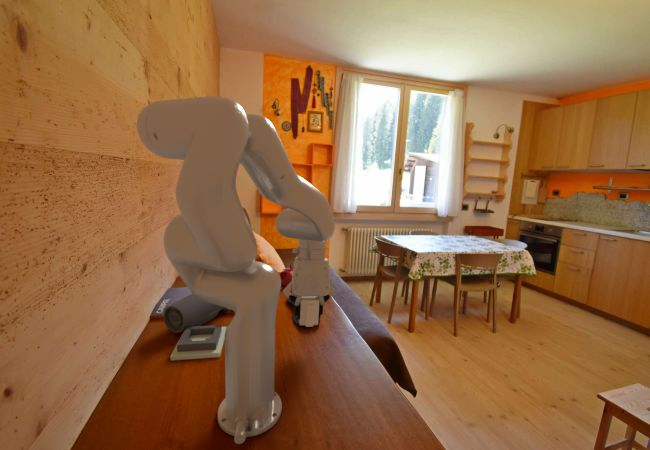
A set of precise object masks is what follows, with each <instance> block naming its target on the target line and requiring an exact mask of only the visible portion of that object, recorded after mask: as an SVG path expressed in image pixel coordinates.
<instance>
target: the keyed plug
mask: <svg viewBox="0 0 650 450" xmlns="http://www.w3.org/2000/svg"><path fill="white" fill-rule="evenodd" d="M300 306H301V309H300V320H299V323H300V325H299V326H305V327H306V328H309V327H314V326H318V325H319V323H318V318H319V298H318V296H312V297H301V300H300Z"/></svg>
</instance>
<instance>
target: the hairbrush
mask: <svg viewBox="0 0 650 450" xmlns="http://www.w3.org/2000/svg"><path fill="white" fill-rule="evenodd" d="M286 303H288V304H290V305H292V306H293V307H294V308H295V304H294V303H293V302H292V301H291V300H290V299H289V298H286ZM292 322H293V323H294V324H295V325H296V326H301V325H300V323H299V320H298V319H297V316H295V309H294V311H293V314H292ZM319 323H321V318H320V319H318V324H319Z"/></svg>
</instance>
